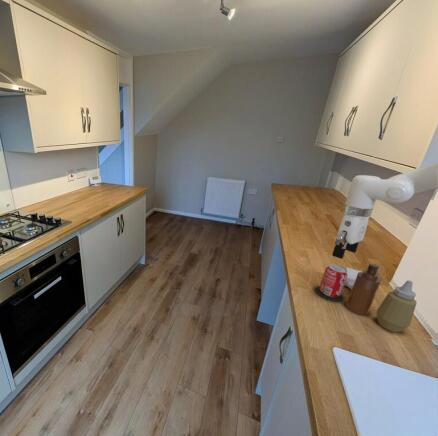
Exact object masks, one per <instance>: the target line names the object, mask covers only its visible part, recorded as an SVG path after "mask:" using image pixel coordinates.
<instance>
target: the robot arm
mask: <svg viewBox="0 0 438 436" xmlns="http://www.w3.org/2000/svg"><path fill="white" fill-rule="evenodd" d="M435 189H438V162H437V163H434V164H430V165H426V166H423V167H420V168H416V169H413V170H410V171H407V172H403V173H400V174H399V173H398V174H397V175H393V176H390V177H389V178H386V179H385V178H384V179H383V178H381V177H380V176H375V175H367V174H366V175H365V174H360V175H355V176H354V177H353V178H352V179H351V183H350V187H349V190H348V192H347V196H346V200H345V204H344V207H343V210H342V214H343V217H342V219H341V222H340V224H339V228H338V230H337V234H336V238H335V242H334V247H333V251H332V257H334V258H338V259H341V260H342V259H344V256H345V253H346V251H348V252H351V253H356V252H357V249H358V246H359V245H360V244H359V243H360V242H362V240H364V238H365V235H366V231H367V229H368V228H367V227H368V224H369V219H370V218H371V217H372V213H373V211H374V207H375V204H376V201H382V202H385V203H389V204H401V203H405V202H407V201H409V200H410V199H411V198H412V197H413V196H414V194H418V193H421V192H426V191H430V190H435Z"/></svg>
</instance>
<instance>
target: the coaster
mask: <svg viewBox="0 0 438 436" xmlns="http://www.w3.org/2000/svg"><path fill="white" fill-rule="evenodd" d="M315 293H316V294H317V295H318V296H319V297H321V298H322V299H325V300H327V301H330V302H335V303H336V302H337V303H338V302H341V301H343V299H344V297H343V295H342V294H341V295H340V296H339V297H329V296H326V295H325V294H323V293H322V292H321V291H320V286H316V288H315Z"/></svg>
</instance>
